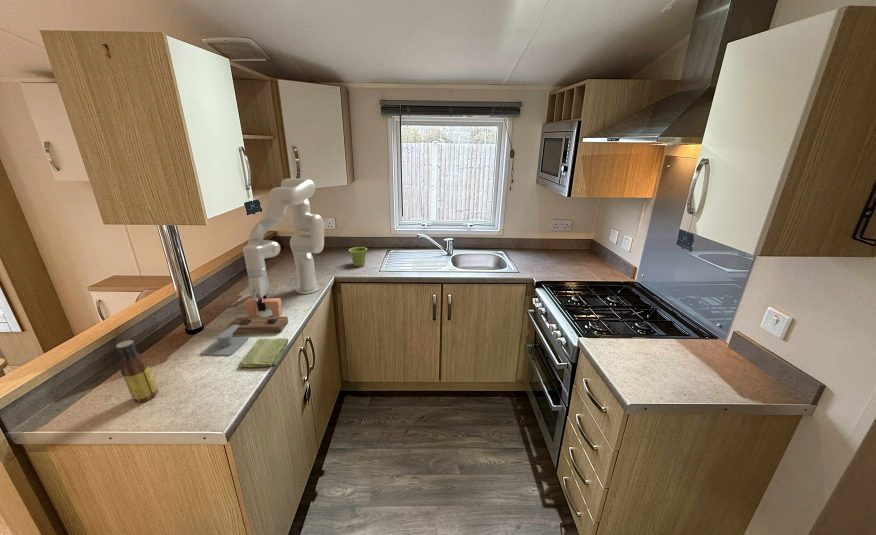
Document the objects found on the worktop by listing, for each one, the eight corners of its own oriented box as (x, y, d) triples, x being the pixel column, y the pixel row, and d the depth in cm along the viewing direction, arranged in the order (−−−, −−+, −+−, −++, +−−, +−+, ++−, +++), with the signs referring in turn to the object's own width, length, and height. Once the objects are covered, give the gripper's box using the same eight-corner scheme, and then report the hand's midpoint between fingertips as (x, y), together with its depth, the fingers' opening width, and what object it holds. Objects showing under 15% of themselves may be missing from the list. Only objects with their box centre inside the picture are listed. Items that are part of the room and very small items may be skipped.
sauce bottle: (149, 388, 110) (131, 335, 103) (163, 392, 108) (145, 338, 102) (127, 402, 104) (105, 346, 97) (141, 406, 102) (120, 350, 96)
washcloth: (237, 370, 119) (235, 363, 118) (258, 343, 136) (257, 336, 135) (275, 369, 120) (273, 361, 119) (291, 342, 137) (290, 335, 136)
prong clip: (250, 314, 159) (247, 299, 156) (283, 313, 160) (280, 298, 157) (247, 317, 156) (244, 302, 153) (280, 316, 157) (277, 301, 154)
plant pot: (371, 265, 226) (370, 249, 222) (357, 269, 218) (355, 253, 214) (361, 261, 234) (360, 245, 230) (346, 265, 225) (345, 249, 221)
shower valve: (251, 324, 140) (228, 344, 125) (253, 336, 141) (231, 356, 127) (222, 324, 140) (196, 343, 126) (224, 335, 142) (199, 356, 128)
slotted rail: (237, 324, 150) (236, 318, 149) (288, 322, 152) (287, 316, 151) (227, 334, 142) (225, 328, 141) (280, 332, 143) (279, 326, 142)
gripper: (256, 266, 158) (263, 301, 164) (239, 278, 142) (247, 317, 149) (273, 265, 158) (279, 300, 165) (257, 278, 143) (265, 316, 149)
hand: (264, 308), depth 157 cm, fingers closed on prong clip, 3 cm apart
